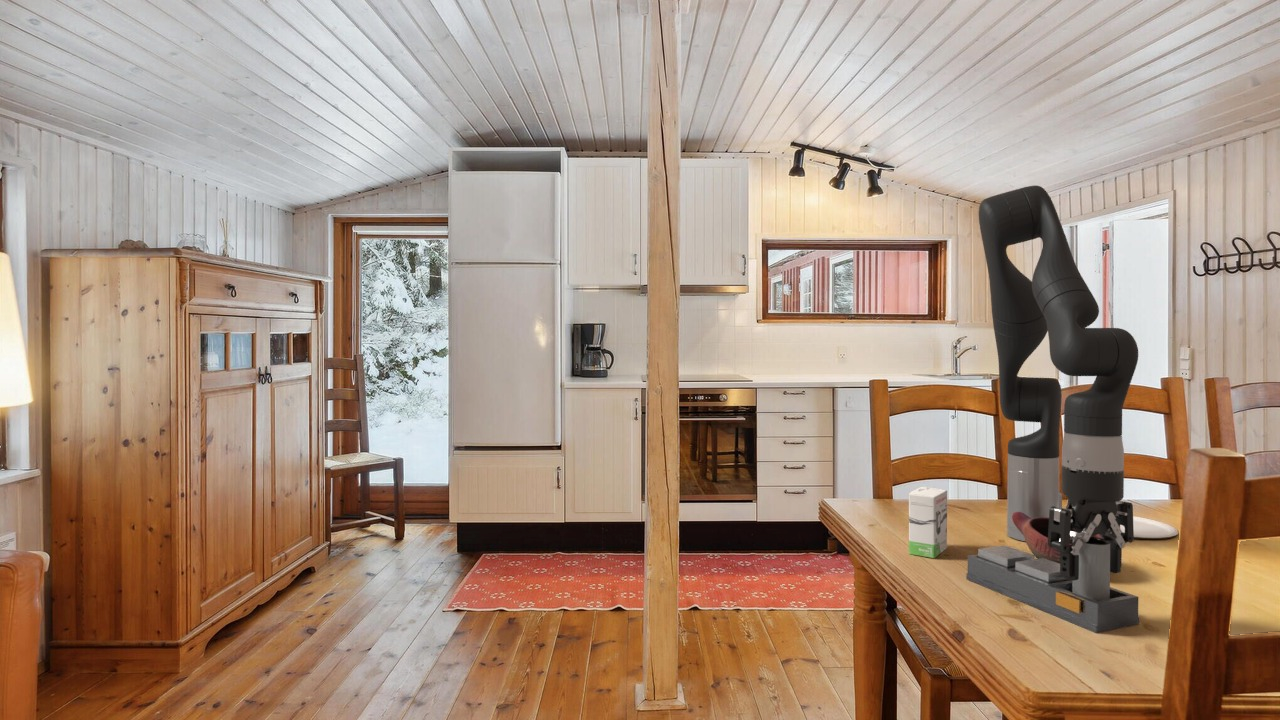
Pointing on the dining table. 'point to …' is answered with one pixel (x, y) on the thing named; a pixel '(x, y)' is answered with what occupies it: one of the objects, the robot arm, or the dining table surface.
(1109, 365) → the robot arm
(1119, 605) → the grey compartment tray
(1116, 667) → the dining table surface
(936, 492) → the ink box
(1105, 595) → the gray cylinder
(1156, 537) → the plate
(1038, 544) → the bowl
